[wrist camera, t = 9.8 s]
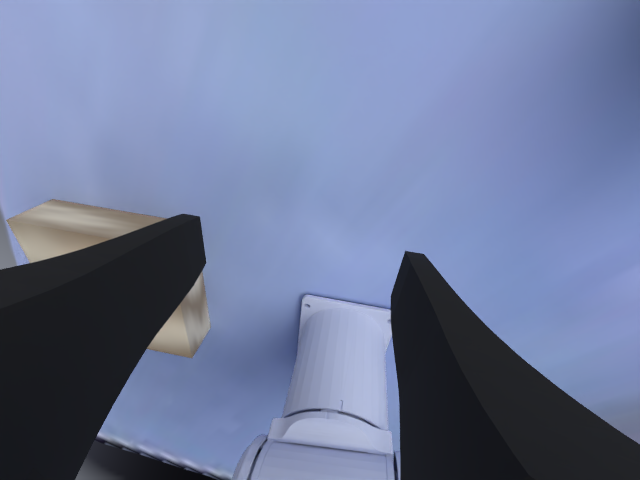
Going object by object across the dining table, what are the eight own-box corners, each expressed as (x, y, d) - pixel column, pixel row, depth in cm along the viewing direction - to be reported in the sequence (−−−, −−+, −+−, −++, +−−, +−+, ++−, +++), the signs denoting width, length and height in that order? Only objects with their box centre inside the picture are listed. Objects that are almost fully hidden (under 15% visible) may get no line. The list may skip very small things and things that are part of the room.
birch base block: (212, 323, 30) (192, 358, 26) (102, 302, 30) (68, 332, 27) (197, 220, 23) (167, 248, 20) (57, 196, 24) (6, 219, 21)
